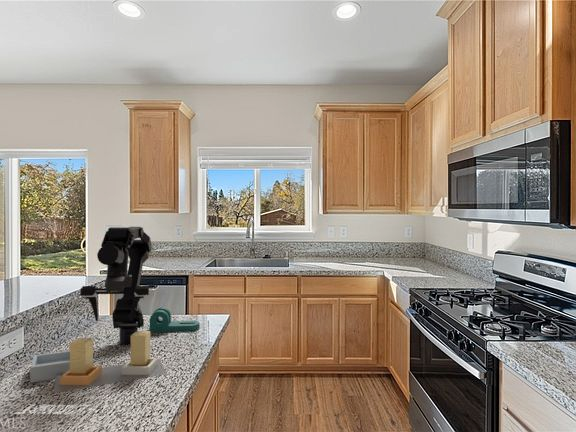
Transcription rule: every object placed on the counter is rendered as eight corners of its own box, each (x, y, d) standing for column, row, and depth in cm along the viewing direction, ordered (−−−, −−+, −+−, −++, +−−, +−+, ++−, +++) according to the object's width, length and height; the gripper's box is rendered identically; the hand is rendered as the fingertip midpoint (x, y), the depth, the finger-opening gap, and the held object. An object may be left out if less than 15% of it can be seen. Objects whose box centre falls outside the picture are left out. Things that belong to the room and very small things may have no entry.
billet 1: (77, 375, 107) (78, 338, 107) (92, 375, 107) (93, 338, 107) (69, 382, 103) (69, 343, 103) (85, 382, 103) (85, 343, 103)
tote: (34, 369, 115) (34, 355, 115) (74, 363, 119) (74, 350, 119) (30, 382, 106) (30, 367, 106) (73, 376, 110) (73, 361, 110)
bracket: (149, 332, 150) (149, 311, 150) (153, 327, 157) (153, 307, 157) (198, 331, 153) (199, 310, 153) (200, 326, 160) (200, 306, 160)
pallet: (56, 380, 108) (56, 367, 108) (159, 363, 120) (159, 352, 120) (53, 399, 97) (53, 384, 97) (166, 379, 109) (166, 366, 109)
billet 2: (135, 366, 113) (136, 331, 113) (150, 366, 114) (150, 331, 113) (130, 372, 109) (130, 335, 109) (145, 372, 110) (145, 335, 109)
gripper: (80, 265, 113) (74, 323, 109) (150, 266, 119) (147, 320, 116) (84, 268, 123) (80, 321, 120) (149, 269, 129) (146, 319, 126)
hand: (113, 320), depth 120 cm, fingers open, 9 cm apart
